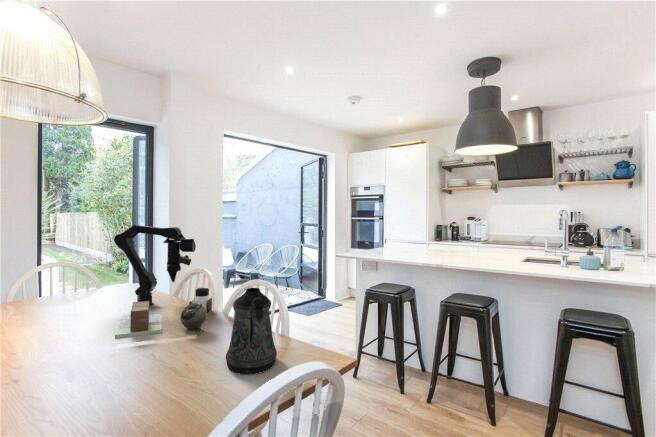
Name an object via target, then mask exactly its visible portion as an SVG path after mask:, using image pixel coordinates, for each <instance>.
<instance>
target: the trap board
mask: <svg viewBox="0 0 656 437" xmlns="http://www.w3.org/2000/svg"><path fill="white" fill-rule="evenodd" d="M153 322H158V324H152V325H151V323H153ZM125 325H131V316H130V317H129V316H128V317H121V319H120V322H119V325H118V327H117V331H116V333H115V334H114V338H115V339H120V338H127V337H136V336H145V335H153V334H160V333H161V334H162V333H163V314H162V313H158V314H157V313H156V314H149V327H148V331H140V332H132V333H130V330H131V327H127V328H126V327H124V328H122V327H123V326H125Z"/></svg>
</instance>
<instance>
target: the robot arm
mask: <svg viewBox="0 0 656 437" xmlns="http://www.w3.org/2000/svg"><path fill="white" fill-rule="evenodd" d="M138 234H146V235H154V236H160V237H162V238H163V237H164V238H166V239H165V240H164V241H162V242H163V244H167V262H166V272H167V273H168V275H169V278H170V280H171V283H175V281H176V278H177V274H178V272H179V271H181V269H182V268H181V266H182V265H181V264H184V265H186V266H189V267H190V265H191V262H192V258H190V257H189V255H188V254H187V255H184V256H183V255H181V252H182V253H194V252H195V251H196V246H197V245H196V241H195V238H186V237H185V236H184V235H183V233H182V230H181V228H180V227H178V226H174V227H173V226H172V227H171V226H170V227H158V226H150V225H149V226H148V225H140V224H134V225H132V226H130V228H127V229H126V230H124V231H123V232H121V233H118V234H116V235H115V236H114V239H113V243H114V244H115V245H116V246H117V248H118V249H119V250H121V251H122V252H124V254H125V256H126V257H127V259H128V262H129V263H130V265H131V266H132V268H133V270H134V272H135V273H136V275H137V280H138V281H137V282H138V285H139V286H138V287H137V288H136V289H135V290H134V293H135V295H136V297H137V299H136V300H137V301H136V302H142V301H149V306H152V305H154V304H155V302H153V293H152V292H153V291H154V289H155V288H156V286H157V285H158V281H157V280H158V278H156V275H155V274H154V272H152V273H150V272H148V269H146V267H145V265H144V263H143V262H142V259H141V258H140V256H139V254H138V253H137V251H136V249H135V246H134V238H135V237H137V235H138Z"/></svg>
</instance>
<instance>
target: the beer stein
mask: <svg viewBox="0 0 656 437" xmlns="http://www.w3.org/2000/svg"><path fill="white" fill-rule="evenodd" d="M271 306H272V301H271V300H270V298H269V297H267V296H266V295H265V294H264V293H263V292H261V290H260V288H259V287H248V288H246V289H245V292H244V293H242V295H240V296H239V297H237V298H236V299H235V300H234V301H233V302H232V308H233V310H234V316H233V317H234V318H233V323H232V330H231V336H230V342H229V346H228V349H227V351H226V354H225V361H226V366H228V367H227V368H228V370H229V371H230V370H231V371H230V372H232V371H233V372H232V373H234V372H235V374H238V373H240V374H239V375H243V374H246V375H257V374H256V373H258V374H260V373H259V372H262V373H264V372H263V371H265V372H267V371H269V370H271V369H272V368H273V367H274V366H275V363H276V359H277V355H278V354H277V352H278V351H277V348H276V345H275V341H274V337H273V331H272V323H271V315H270V309H271V308H272V307H271ZM273 365H274V366H273ZM272 366H273V367H272ZM271 367H272V368H271ZM270 368H271V369H270ZM268 369H269V370H268ZM266 370H267V371H266Z"/></svg>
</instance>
